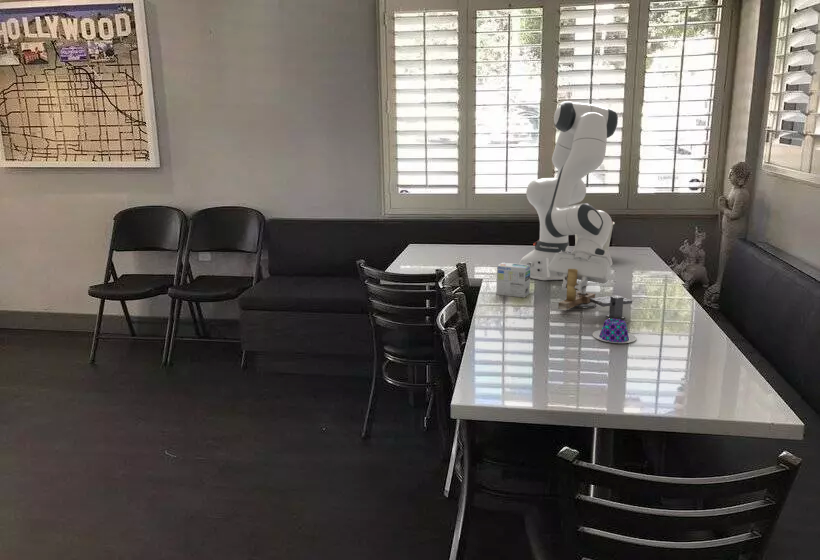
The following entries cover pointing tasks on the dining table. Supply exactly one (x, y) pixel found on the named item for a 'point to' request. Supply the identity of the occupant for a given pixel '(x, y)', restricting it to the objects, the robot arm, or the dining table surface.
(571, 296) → the link
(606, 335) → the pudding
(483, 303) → the dining table surface
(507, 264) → the light bulb box
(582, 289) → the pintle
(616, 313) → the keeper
